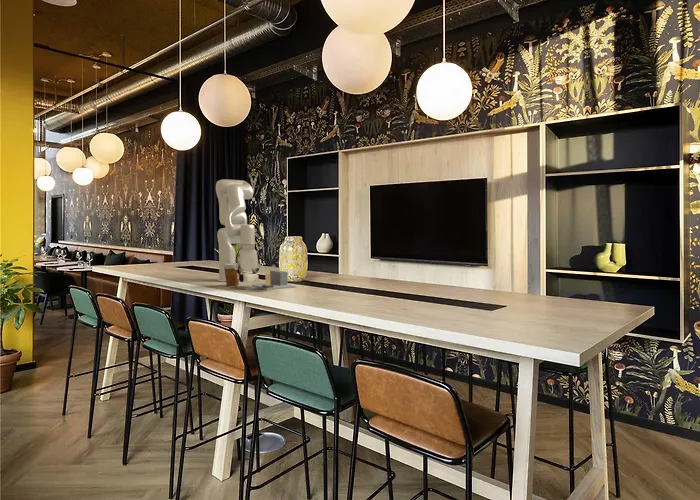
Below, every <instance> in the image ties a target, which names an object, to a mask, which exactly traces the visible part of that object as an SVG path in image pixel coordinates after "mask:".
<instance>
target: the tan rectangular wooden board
mask: <svg viewBox="0 0 700 500" xmlns="http://www.w3.org/2000/svg"><path fill="white" fill-rule="evenodd" d="M264 277H265V278H264V279H265V280H264V281H265V283H264V284H266V286H270V270H268V271H267V270H266V271H265V276H264Z"/></svg>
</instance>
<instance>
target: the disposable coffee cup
mask: <svg viewBox="0 0 700 500" xmlns="http://www.w3.org/2000/svg"><path fill="white" fill-rule="evenodd" d="M236 264H237V263H232V264H224V269H225V277H226V282H225V284H226V287H231V286H233V287H235V286H240V285H239V282H240V280H239V279H237V274H238V273H237V272H236V270H235V269H234V268H233V267H234V266H235V265H236ZM237 268H238V267H237ZM238 270H239V268H238Z"/></svg>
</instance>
